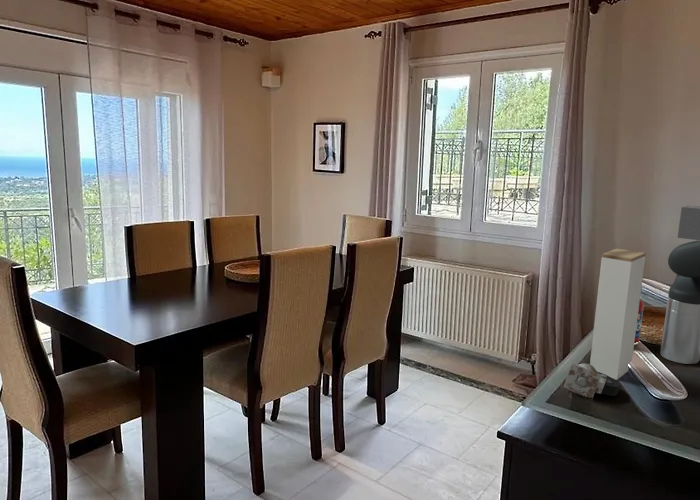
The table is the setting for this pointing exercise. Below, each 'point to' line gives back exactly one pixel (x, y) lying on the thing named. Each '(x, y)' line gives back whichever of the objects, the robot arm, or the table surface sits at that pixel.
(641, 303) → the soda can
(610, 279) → the plinth
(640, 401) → the table surface
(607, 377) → the grey speckled two-tone part
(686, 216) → the grey hammer
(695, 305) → the robot arm
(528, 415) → the table surface
